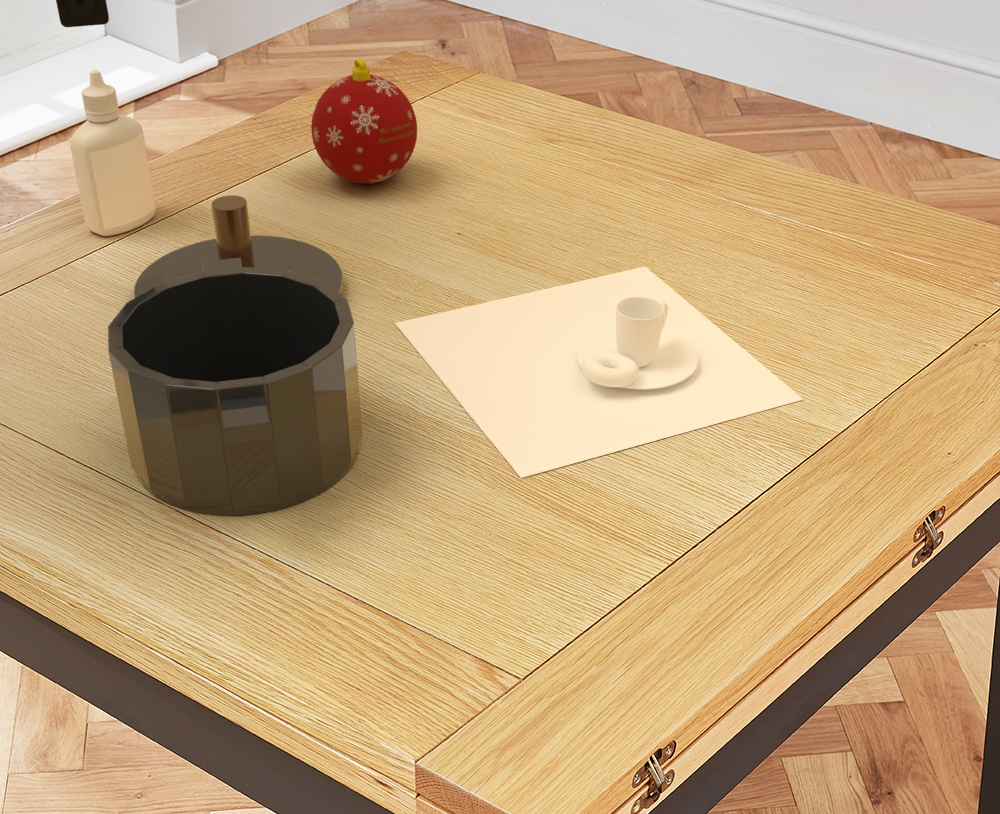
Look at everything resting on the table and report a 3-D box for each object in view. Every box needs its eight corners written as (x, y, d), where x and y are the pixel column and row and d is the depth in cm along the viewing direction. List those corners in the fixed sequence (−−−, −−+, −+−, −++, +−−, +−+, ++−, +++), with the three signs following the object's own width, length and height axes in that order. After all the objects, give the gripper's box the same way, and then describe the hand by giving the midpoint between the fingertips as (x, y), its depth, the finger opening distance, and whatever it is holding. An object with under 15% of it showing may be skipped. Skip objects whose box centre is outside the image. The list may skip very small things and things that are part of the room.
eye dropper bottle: (163, 228, 105) (139, 76, 98) (90, 240, 103) (59, 87, 96) (153, 206, 108) (128, 57, 101) (81, 217, 107) (51, 67, 99)
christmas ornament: (340, 209, 108) (331, 86, 102) (300, 170, 114) (289, 52, 108) (436, 187, 111) (433, 67, 105) (392, 151, 117) (386, 35, 111)
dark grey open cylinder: (135, 561, 73) (108, 431, 68) (130, 378, 88) (107, 260, 83) (384, 525, 75) (376, 397, 70) (338, 354, 90) (329, 237, 85)
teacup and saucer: (602, 409, 85) (605, 353, 82) (545, 350, 90) (546, 296, 88) (721, 378, 88) (727, 323, 85) (658, 322, 93) (662, 269, 91)
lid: (138, 360, 89) (120, 262, 85) (134, 260, 101) (118, 169, 96) (357, 334, 92) (350, 238, 88) (329, 240, 103) (322, 151, 99)
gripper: (-19, -291, 91) (36, -30, 102) (-39, -247, 78) (26, 48, 88) (95, -295, 93) (137, -37, 103) (94, -253, 79) (143, 38, 90)
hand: (86, 2), depth 96 cm, fingers open, 9 cm apart
